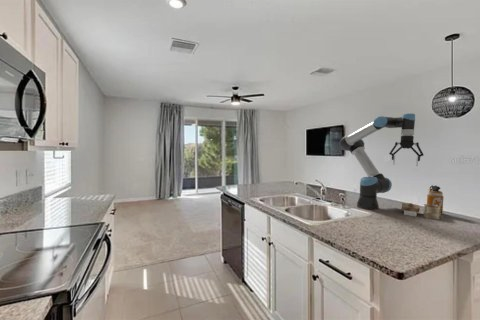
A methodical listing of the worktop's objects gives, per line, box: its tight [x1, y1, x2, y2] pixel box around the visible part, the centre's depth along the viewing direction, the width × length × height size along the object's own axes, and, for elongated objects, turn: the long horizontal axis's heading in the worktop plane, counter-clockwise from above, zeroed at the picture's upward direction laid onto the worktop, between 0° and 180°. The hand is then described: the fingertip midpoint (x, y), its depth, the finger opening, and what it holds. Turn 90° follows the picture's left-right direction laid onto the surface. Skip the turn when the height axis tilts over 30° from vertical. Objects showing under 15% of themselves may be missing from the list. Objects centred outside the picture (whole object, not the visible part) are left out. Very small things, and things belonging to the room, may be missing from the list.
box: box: [423, 203, 442, 220], centre depth 162 cm, size 8×11×7 cm
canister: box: [426, 184, 444, 215], centre depth 172 cm, size 9×11×20 cm
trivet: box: [403, 210, 418, 217], centre depth 169 cm, size 7×13×3 cm, turn 145°
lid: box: [401, 202, 421, 213], centre depth 169 cm, size 10×13×4 cm
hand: (405, 165), depth 172 cm, fingers open, 13 cm apart
